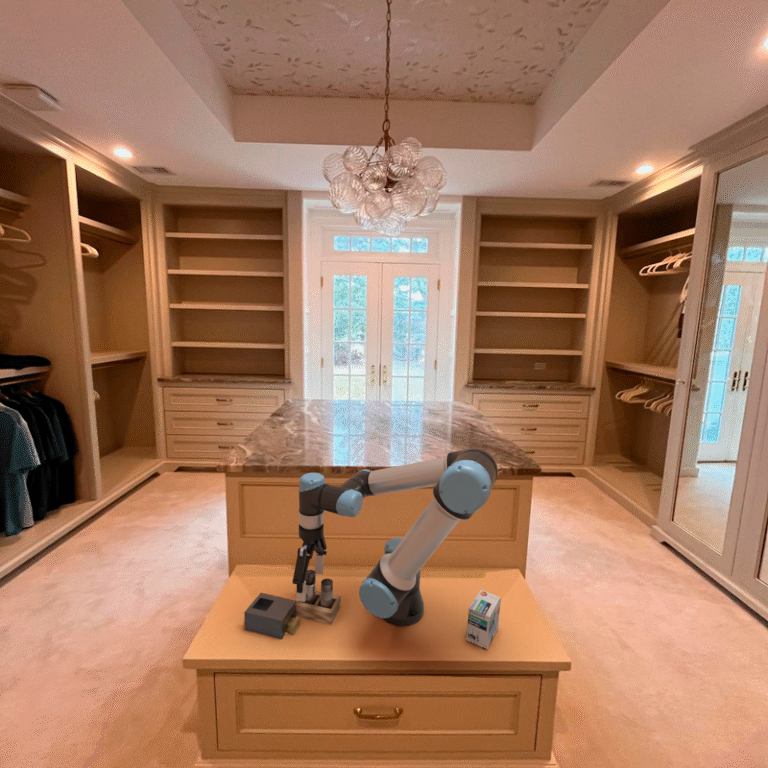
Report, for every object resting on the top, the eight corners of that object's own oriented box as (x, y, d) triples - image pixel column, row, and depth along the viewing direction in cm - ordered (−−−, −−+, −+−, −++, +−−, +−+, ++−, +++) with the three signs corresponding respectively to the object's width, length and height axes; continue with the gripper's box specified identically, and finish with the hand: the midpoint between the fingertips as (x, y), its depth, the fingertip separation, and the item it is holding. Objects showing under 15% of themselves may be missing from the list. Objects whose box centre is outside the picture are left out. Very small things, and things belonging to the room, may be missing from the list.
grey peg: (317, 604, 134) (317, 570, 132) (312, 612, 131) (312, 577, 129) (307, 602, 136) (307, 568, 133) (302, 609, 132) (301, 575, 130)
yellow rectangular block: (299, 624, 127) (299, 617, 126) (293, 634, 123) (293, 626, 123) (266, 616, 130) (266, 609, 129) (259, 625, 126) (259, 618, 125)
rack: (340, 607, 135) (341, 576, 133) (331, 624, 128) (332, 592, 126) (306, 599, 138) (306, 569, 136) (295, 616, 130) (295, 584, 129)
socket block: (295, 617, 130) (295, 600, 129) (281, 639, 121) (281, 620, 120) (260, 609, 133) (260, 592, 132) (244, 630, 124) (244, 611, 123)
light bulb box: (487, 651, 120) (490, 617, 118) (465, 640, 124) (467, 608, 122) (498, 628, 129) (501, 596, 127) (477, 619, 133) (480, 588, 131)
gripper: (316, 504, 141) (315, 561, 145) (280, 542, 117) (280, 610, 121) (337, 507, 139) (335, 565, 143) (305, 547, 116) (304, 616, 119)
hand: (310, 586), depth 132 cm, fingers open, 13 cm apart
